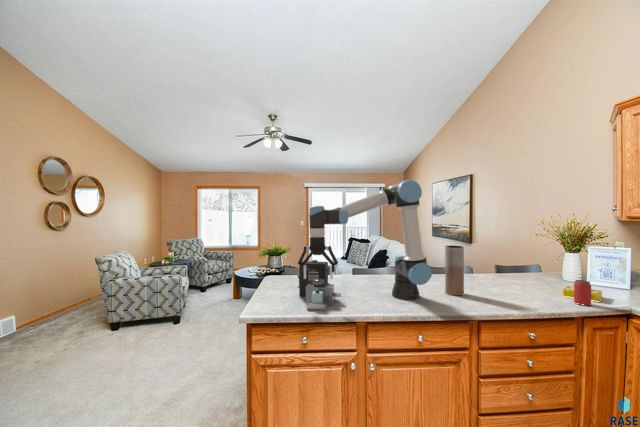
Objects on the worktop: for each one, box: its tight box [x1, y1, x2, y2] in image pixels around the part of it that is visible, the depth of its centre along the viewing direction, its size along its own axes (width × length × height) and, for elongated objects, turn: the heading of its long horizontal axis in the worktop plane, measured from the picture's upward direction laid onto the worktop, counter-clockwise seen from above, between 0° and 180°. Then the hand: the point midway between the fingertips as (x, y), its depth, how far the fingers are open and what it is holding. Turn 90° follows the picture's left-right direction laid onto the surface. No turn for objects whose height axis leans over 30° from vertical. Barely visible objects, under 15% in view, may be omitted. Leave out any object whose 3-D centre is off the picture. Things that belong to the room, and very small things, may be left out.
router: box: [296, 259, 331, 298], centre depth 167 cm, size 8×18×20 cm, turn 78°
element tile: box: [562, 285, 603, 301], centre depth 162 cm, size 15×15×5 cm
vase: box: [444, 245, 465, 296], centre depth 170 cm, size 10×10×28 cm
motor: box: [305, 279, 342, 312], centre depth 148 cm, size 18×16×12 cm
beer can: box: [573, 279, 592, 306], centre depth 149 cm, size 7×7×12 cm
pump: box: [312, 289, 323, 304], centre depth 145 cm, size 5×6×8 cm
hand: (318, 278), depth 145 cm, fingers open, 13 cm apart
